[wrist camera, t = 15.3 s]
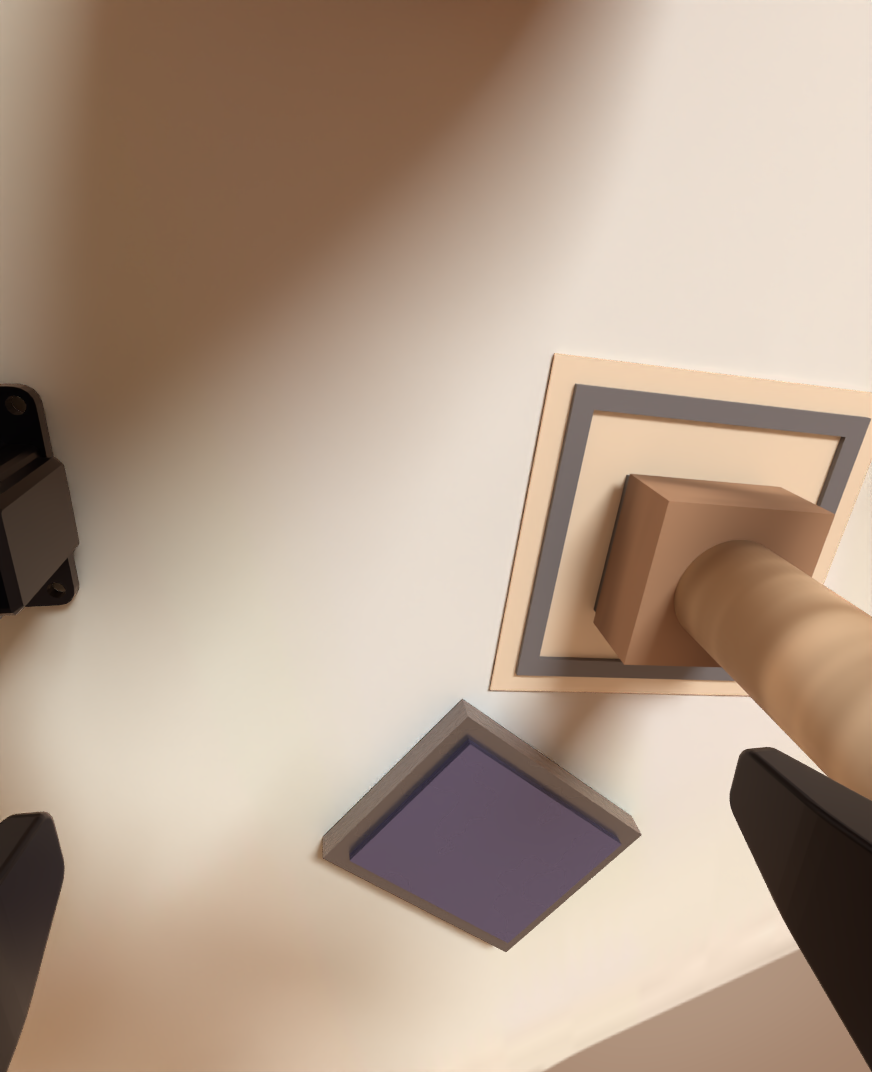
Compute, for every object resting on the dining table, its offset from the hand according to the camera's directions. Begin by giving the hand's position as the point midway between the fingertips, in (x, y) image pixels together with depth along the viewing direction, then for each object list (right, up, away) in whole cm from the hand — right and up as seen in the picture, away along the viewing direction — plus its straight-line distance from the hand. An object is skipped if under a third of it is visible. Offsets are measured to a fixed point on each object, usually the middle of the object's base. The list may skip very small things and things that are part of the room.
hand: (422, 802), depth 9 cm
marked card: (+9, +3, +14) cm, 17 cm away
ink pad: (+2, -8, +18) cm, 20 cm away
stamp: (+9, +3, +14) cm, 17 cm away
